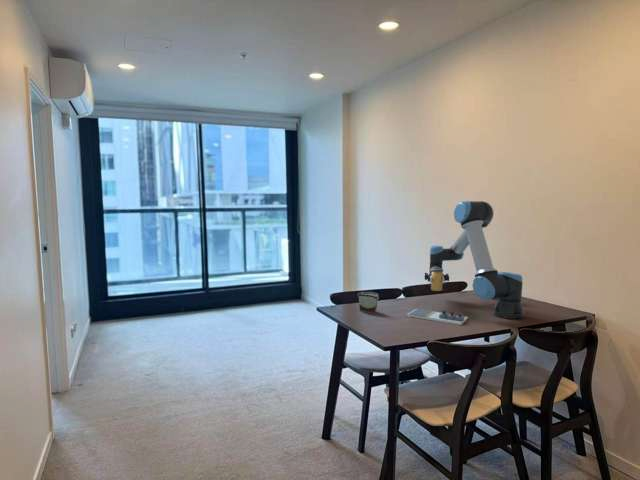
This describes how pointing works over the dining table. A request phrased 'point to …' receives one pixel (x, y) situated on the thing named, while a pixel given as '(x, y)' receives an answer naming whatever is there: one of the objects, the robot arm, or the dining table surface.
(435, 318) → the board
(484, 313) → the dining table surface
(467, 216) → the robot arm
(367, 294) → the food container
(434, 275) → the yellow jar
